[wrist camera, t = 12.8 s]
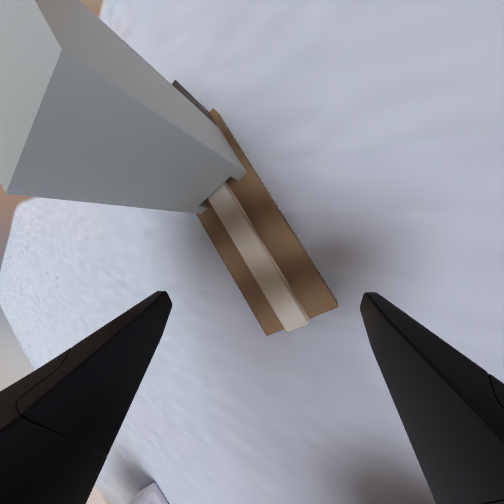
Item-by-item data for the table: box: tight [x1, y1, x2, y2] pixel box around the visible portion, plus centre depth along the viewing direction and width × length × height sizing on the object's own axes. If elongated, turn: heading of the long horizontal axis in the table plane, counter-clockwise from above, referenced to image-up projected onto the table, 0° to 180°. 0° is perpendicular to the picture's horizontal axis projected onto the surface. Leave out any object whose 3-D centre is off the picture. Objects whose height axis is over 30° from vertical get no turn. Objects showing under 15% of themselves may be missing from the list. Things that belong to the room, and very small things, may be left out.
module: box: [0, 0, 247, 214], centre depth 12 cm, size 5×6×12 cm
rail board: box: [172, 80, 338, 336], centre depth 15 cm, size 20×7×5 cm, turn 33°
